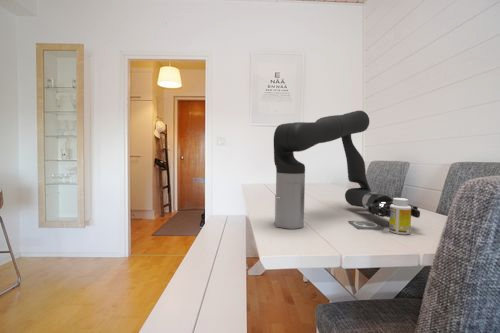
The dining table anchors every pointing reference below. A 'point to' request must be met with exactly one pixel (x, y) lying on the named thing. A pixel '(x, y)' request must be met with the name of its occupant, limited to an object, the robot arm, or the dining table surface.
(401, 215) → the supplement bottle
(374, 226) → the slate tile
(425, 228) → the dining table surface
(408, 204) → the robot arm
